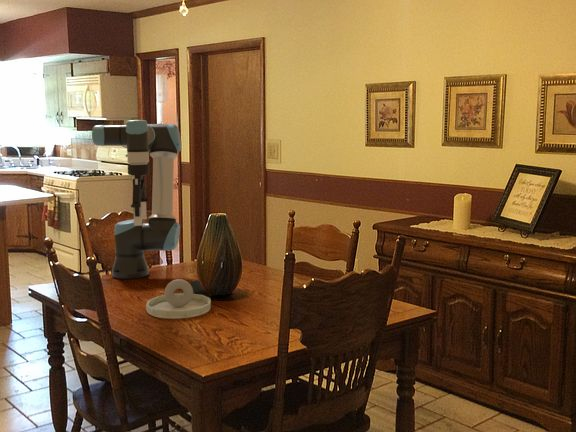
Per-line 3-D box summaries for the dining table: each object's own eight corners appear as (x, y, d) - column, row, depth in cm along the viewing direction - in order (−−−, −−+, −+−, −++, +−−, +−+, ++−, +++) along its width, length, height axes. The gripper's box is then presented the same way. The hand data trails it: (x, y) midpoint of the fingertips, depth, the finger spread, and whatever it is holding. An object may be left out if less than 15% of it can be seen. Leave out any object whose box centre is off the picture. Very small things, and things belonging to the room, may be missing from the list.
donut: (193, 304, 239) (192, 277, 237) (193, 307, 235) (193, 279, 234) (164, 306, 237) (163, 278, 235) (164, 309, 233) (163, 281, 232)
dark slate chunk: (227, 282, 275) (226, 270, 274) (233, 296, 253) (233, 284, 253) (189, 284, 272) (188, 272, 271) (192, 299, 250) (192, 286, 250)
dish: (150, 301, 246) (150, 294, 246) (211, 299, 248) (211, 292, 248) (143, 319, 225) (143, 312, 224) (209, 317, 226) (209, 310, 226)
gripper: (132, 161, 253) (134, 217, 256) (122, 166, 228) (124, 228, 232) (152, 160, 254) (154, 216, 257) (144, 166, 229) (146, 228, 232)
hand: (140, 222), depth 244 cm, fingers open, 13 cm apart
